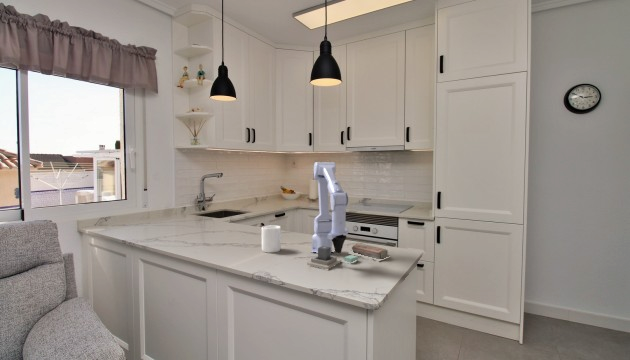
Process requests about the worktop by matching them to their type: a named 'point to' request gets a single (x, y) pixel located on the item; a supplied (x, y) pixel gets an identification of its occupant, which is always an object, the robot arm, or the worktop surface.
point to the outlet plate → (324, 262)
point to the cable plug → (350, 258)
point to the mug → (271, 238)
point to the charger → (324, 253)
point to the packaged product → (370, 251)
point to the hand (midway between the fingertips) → (338, 252)
